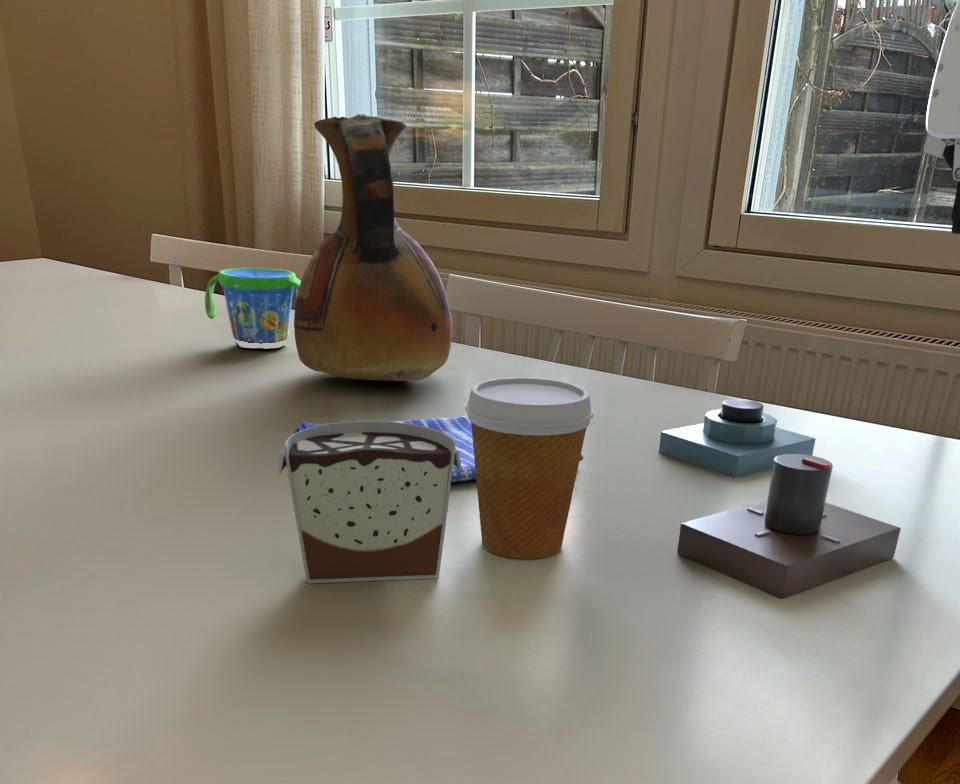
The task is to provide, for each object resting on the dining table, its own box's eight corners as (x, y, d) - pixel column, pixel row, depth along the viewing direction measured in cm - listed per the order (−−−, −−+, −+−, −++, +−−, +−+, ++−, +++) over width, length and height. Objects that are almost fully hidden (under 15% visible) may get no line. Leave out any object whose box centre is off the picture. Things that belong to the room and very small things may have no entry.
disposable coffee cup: (436, 540, 77) (438, 386, 72) (522, 514, 83) (529, 370, 77) (521, 578, 71) (531, 413, 65) (607, 548, 77) (623, 394, 71)
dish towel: (290, 447, 98) (288, 419, 97) (500, 425, 108) (501, 400, 106) (350, 501, 84) (349, 469, 83) (584, 470, 94) (586, 441, 93)
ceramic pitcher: (431, 361, 137) (433, 118, 123) (469, 396, 120) (476, 117, 106) (288, 365, 132) (274, 111, 118) (307, 401, 115) (293, 110, 101)
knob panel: (788, 519, 84) (794, 489, 83) (893, 557, 77) (901, 525, 76) (676, 553, 76) (681, 521, 75) (782, 599, 69) (788, 564, 68)
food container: (447, 545, 76) (449, 417, 72) (459, 577, 71) (462, 441, 66) (285, 551, 74) (277, 419, 70) (285, 584, 69) (276, 444, 64)
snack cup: (327, 344, 145) (324, 271, 140) (294, 358, 136) (289, 280, 131) (232, 335, 149) (226, 264, 144) (194, 348, 140) (187, 272, 135)
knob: (752, 521, 76) (763, 454, 73) (786, 511, 78) (798, 446, 76) (796, 538, 73) (810, 469, 70) (831, 528, 75) (845, 460, 73)
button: (737, 414, 101) (740, 397, 101) (769, 423, 99) (772, 405, 98) (711, 419, 99) (714, 401, 98) (743, 428, 96) (746, 410, 96)
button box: (734, 436, 107) (740, 399, 105) (811, 459, 100) (819, 420, 98) (658, 452, 101) (663, 413, 99) (735, 478, 94) (741, 437, 92)
